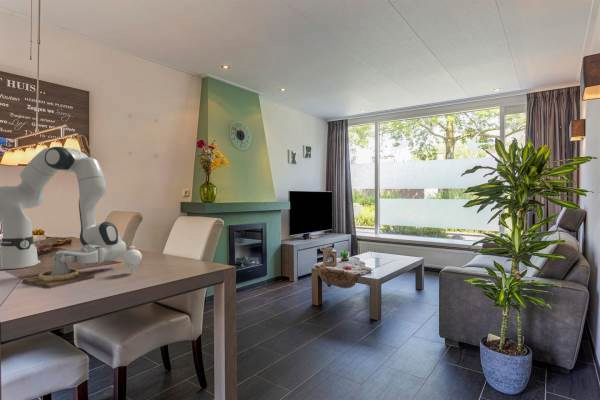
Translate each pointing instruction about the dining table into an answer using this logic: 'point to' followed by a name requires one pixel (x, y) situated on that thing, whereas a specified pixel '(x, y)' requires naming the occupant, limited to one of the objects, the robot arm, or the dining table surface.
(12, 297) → the dining table surface
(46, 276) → the wooden ring
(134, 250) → the spinning top
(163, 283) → the dining table surface
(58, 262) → the flask
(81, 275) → the walnut board
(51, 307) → the dining table surface
